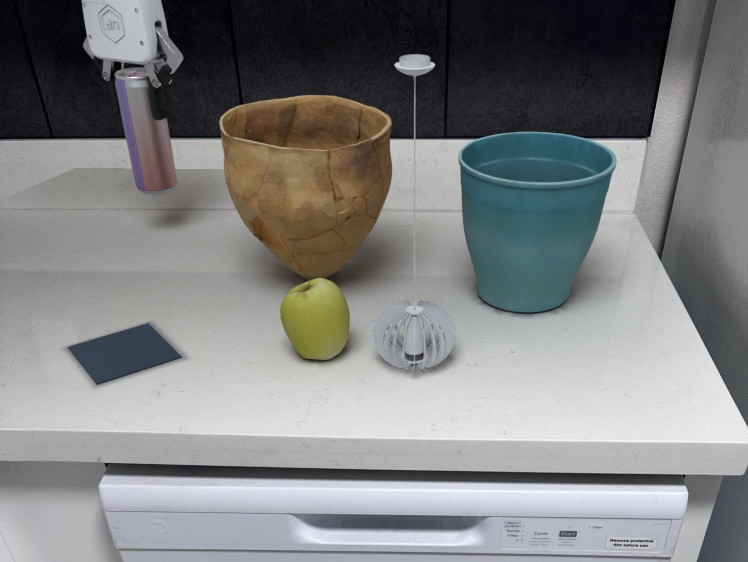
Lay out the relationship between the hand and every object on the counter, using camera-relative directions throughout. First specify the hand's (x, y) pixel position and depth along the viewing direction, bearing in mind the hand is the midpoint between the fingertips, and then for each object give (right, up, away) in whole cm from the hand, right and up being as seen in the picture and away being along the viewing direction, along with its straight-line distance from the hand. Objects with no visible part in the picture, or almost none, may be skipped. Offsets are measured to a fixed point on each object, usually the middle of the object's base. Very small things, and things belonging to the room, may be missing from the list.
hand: (143, 113), depth 108 cm
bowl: (+24, -24, -2) cm, 34 cm away
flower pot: (+51, -27, -6) cm, 58 cm away
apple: (+26, -37, -17) cm, 48 cm away
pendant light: (+37, -38, -18) cm, 56 cm away
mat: (+3, -37, -17) cm, 41 cm away
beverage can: (0, -8, +7) cm, 10 cm away
